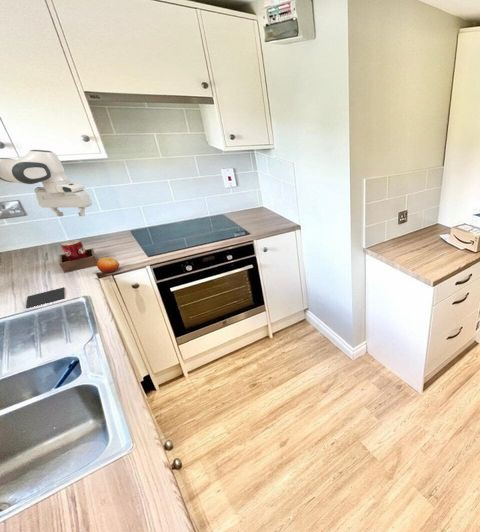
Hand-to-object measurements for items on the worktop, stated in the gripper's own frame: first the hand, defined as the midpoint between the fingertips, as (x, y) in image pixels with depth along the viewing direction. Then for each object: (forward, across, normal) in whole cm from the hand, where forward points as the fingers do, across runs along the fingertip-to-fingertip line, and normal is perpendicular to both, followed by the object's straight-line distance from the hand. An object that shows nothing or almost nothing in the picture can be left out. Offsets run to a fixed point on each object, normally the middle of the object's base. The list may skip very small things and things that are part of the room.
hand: (71, 215), depth 153 cm
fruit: (+24, +16, -12) cm, 32 cm away
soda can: (+24, -2, -4) cm, 25 cm away
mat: (+24, +6, -35) cm, 43 cm away
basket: (+24, -2, -4) cm, 24 cm away
